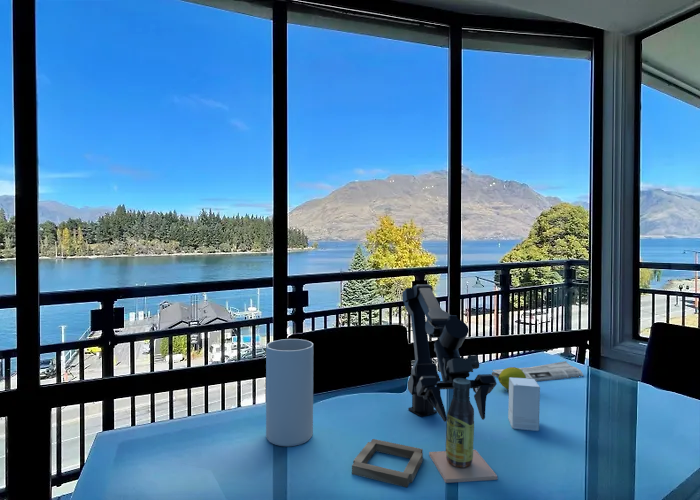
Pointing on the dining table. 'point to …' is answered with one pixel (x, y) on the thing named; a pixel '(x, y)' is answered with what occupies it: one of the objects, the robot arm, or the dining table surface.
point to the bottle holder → (386, 474)
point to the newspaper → (548, 371)
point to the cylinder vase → (289, 392)
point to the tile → (463, 469)
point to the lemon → (510, 375)
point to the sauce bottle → (460, 425)
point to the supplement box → (524, 403)
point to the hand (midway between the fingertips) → (464, 419)
